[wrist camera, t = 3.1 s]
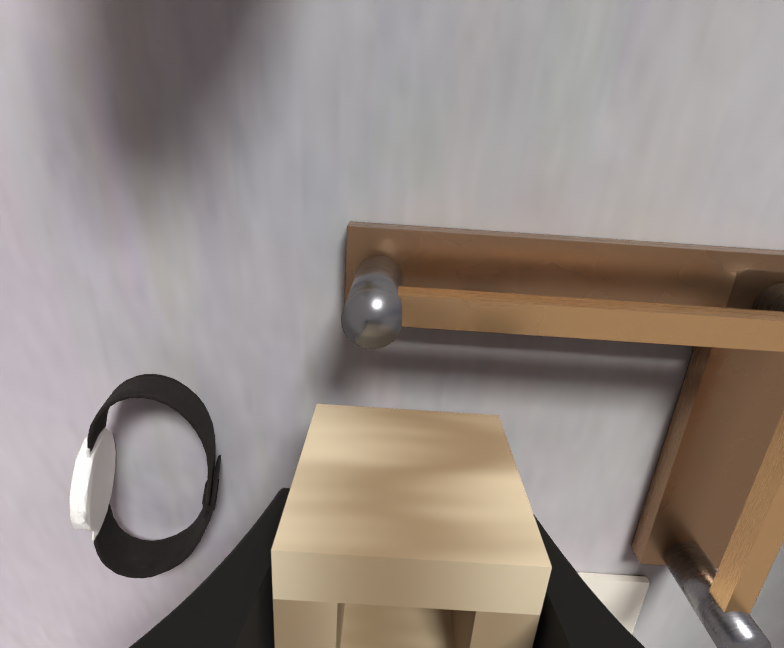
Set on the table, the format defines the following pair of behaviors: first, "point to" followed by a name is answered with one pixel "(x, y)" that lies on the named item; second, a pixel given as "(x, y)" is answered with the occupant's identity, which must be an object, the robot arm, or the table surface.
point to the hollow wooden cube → (407, 536)
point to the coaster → (619, 594)
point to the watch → (98, 477)
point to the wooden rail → (631, 324)
